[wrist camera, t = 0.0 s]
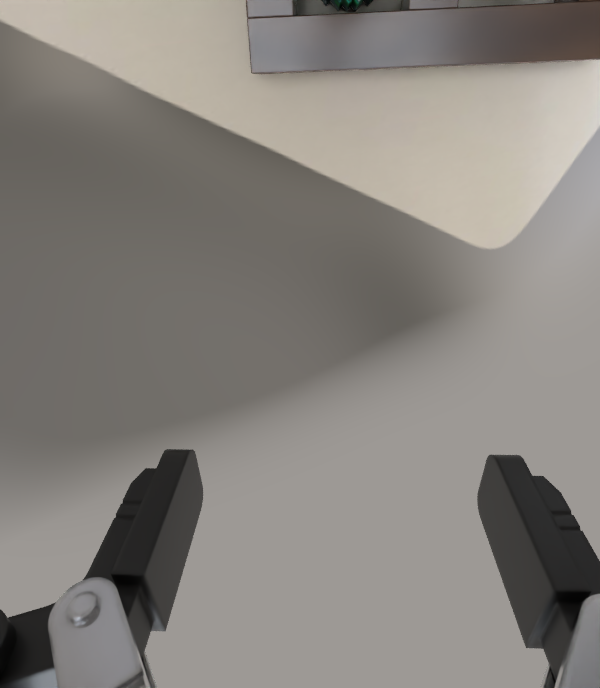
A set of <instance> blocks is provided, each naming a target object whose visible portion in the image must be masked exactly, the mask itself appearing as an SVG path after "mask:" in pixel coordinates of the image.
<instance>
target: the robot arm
mask: <svg viewBox="0 0 600 688" xmlns="http://www.w3.org/2000/svg"><path fill="white" fill-rule="evenodd" d="M202 500H203V486H202V482H201V477H200V472H199V468H198V463H197V458H196V454H195V451H194V450H176V449H174V450H173V449H167V450H165V451H164V453H163V455H162V457H161V459H160V462H159V464H158V466H157V468H156V469H150V468H148V469H147V468H146V469H145V470H144V471H143V472H142V473H141V474H140V475H139V476H138V477H137V478H136V479H135V480H134V481H133V482H132V483H131V485H130V487H129V489H128V491H127V493H126V495H125V497H124V499H123V503H122V504H121V505H120V507H119V509H118V511H117V513H116V518H114V520H113V522H112V524H111V526H110V528H109V530H108V532H107V534H106V536H105V538H104V540H103V542H102V544H101V546H100V549H99V551H98V553H97V555H96V557H95V559H94V561H93V563H92V565H91V567H90V569H89V571H88V573H87V575H86V577H85V578H84V579H83V581H81V582H79V583H77V584H75V585H73V586H72V587H71V588H69V589H68V590H67V591H66V592H65V593H64V594H63V595H62V596H61V597H60V598H59V599H58V601H57V602H56V603H54V604H51V605H49V606H46V607H43V608H40V609H36V610H32V611H29V612H26V613H23V614H19V615H16V616H12V617H9V618H7V616H6V615H5V614H4V613H3V611H2V610H0V688H157V686H156V683H155V680H154V677H153V674H152V671H151V668H150V665H149V662H148V659H147V655H146V653H145V647H146V645H147V641H148V638H149V635H150V632H151V631H166V627H167V624H168V621H169V617H170V614H171V610H172V607H173V603H174V600H175V597H176V593H177V590H178V586H179V583H180V580H181V576H182V572H183V569H184V566H185V562H186V559H187V556H188V552H189V549H190V545H191V542H192V538H193V535H194V532H195V528H196V525H197V521H198V518H199V515H200V511H201V507H202ZM478 509H479V515H480V518H481V520H482V524H483V526H484V529H485V532H486V535H487V538H488V541H489V544H490V546H491V549H492V552H493V555H494V558H495V560H496V563H497V566H498V569H499V572H500V575H501V577H502V580H503V583H504V586H505V589H506V592H507V595H508V598H509V601H510V603H511V606H512V609H513V612H514V614H515V617H516V620H517V623H518V626H519V629H520V632H521V635H522V637H523V640H524V643H525V646H526V648H542V649H544V652H545V654H546V657H547V659H548V662H549V665H548V667H547V669H546V672H545V675H544V679H543V682H542V685H541V688H600V561H599V559H598V558H597V556H596V554H595V552H594V551H593V549H592V547H591V545H590V544H589V542H588V540H587V538H586V537H585V535H584V533H583V531H581V530H580V526H579V524H578V522H577V521H576V519H575V517H574V515H572V514H571V510H570V508H569V506H568V505H567V503H566V501H565V499H564V498H563V496H562V494H561V492H559V491H558V490H557V489H556V488H555V487H554V486H553V485H552V484H551V483H550V482H549V481H548V480H547V479H545V477H544V476H532V474H531V473H530V471H529V469H528V467H527V465H526V463H525V462H524V459H523V458H522V457H521V456H519V455H489V456H488V458H487V460H486V464H485V468H484V472H483V475H482V480H481V483H480V487H479V491H478Z"/></svg>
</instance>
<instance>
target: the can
mask: <svg viewBox="0 0 600 688" xmlns="http://www.w3.org/2000/svg"><path fill="white" fill-rule="evenodd" d="M330 1H331V3H332V4H333V5H334V7H335V8H336V9H337V11H339V10H340V9H341V8H342V6H343V8H344V9H345V10H346V12H347V10H348V9H349V8H350V7H352V9H353V10H354V11H356V10H357V9H358V7H359V6H360V5H361V4H362V3H363V2H365V4H366V5H367V6H369V4H370V3H371V2H372V1H373V0H322V2H323V3H324V4H325V6H327V4H328V3H329V2H330Z"/></svg>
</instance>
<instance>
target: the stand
mask: <svg viewBox="0 0 600 688" xmlns="http://www.w3.org/2000/svg"><path fill="white" fill-rule="evenodd" d="M458 1H459V0H402V7H401V11H383V12H363V13H342V14H322V15H302V16H297V6H296V0H246V8H247V17H248V18H247V22H248V35H249V48H250V61H251V73H254V74H271V73H295V72H319V71H343V70H368V69H392V68H416V67H440V66H465V65H489V64H513V63H537V62H562V61H585V60H599V59H600V0H555V3H545V4H525V5H504V6H484V7H464V8H457V7H458Z"/></svg>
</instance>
